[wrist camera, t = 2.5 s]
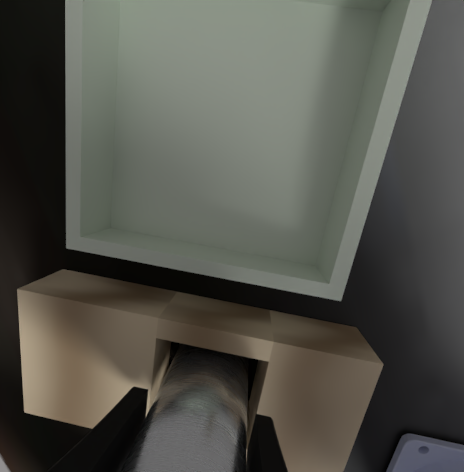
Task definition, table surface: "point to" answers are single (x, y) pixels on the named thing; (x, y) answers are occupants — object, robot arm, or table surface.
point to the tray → (233, 131)
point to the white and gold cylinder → (196, 416)
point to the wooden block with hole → (200, 335)
